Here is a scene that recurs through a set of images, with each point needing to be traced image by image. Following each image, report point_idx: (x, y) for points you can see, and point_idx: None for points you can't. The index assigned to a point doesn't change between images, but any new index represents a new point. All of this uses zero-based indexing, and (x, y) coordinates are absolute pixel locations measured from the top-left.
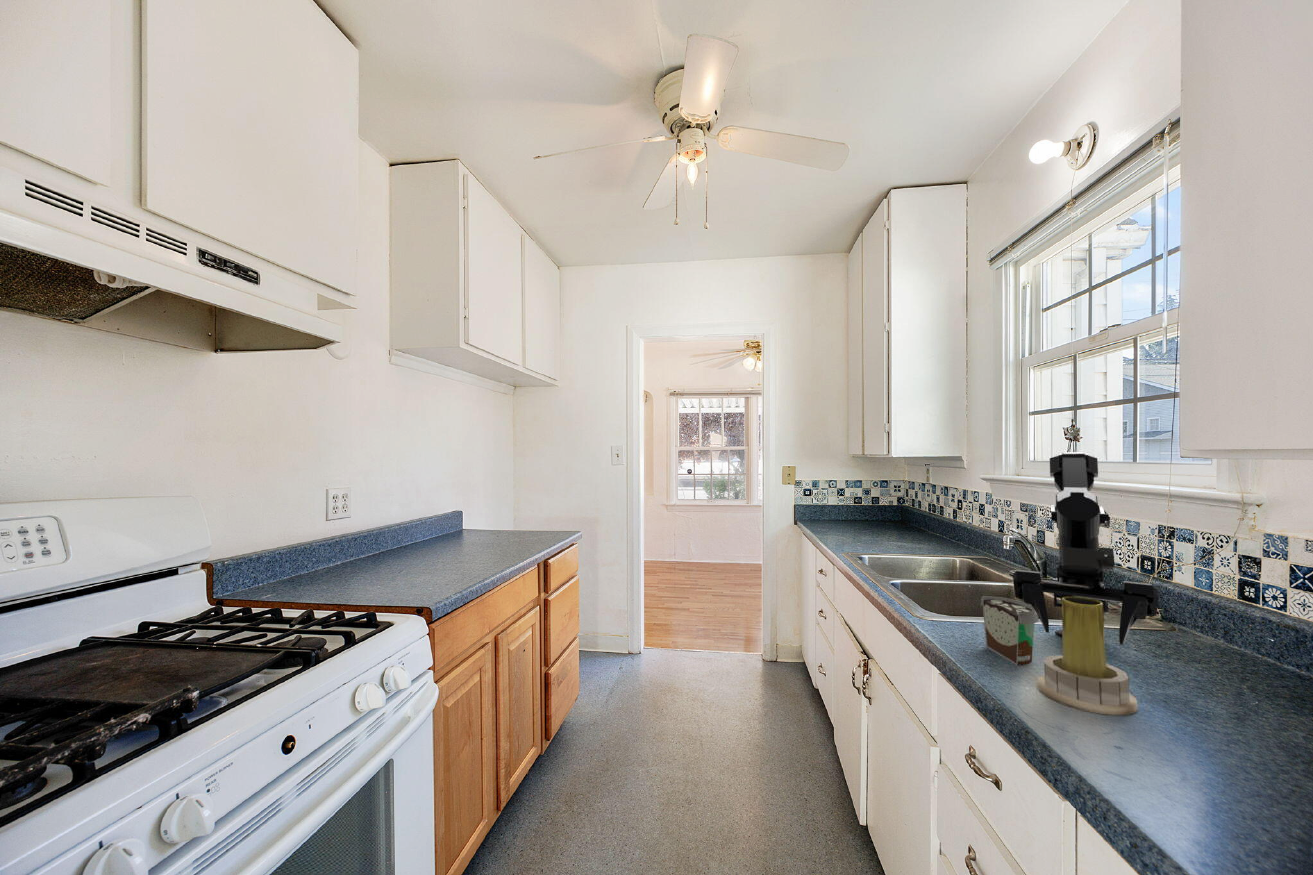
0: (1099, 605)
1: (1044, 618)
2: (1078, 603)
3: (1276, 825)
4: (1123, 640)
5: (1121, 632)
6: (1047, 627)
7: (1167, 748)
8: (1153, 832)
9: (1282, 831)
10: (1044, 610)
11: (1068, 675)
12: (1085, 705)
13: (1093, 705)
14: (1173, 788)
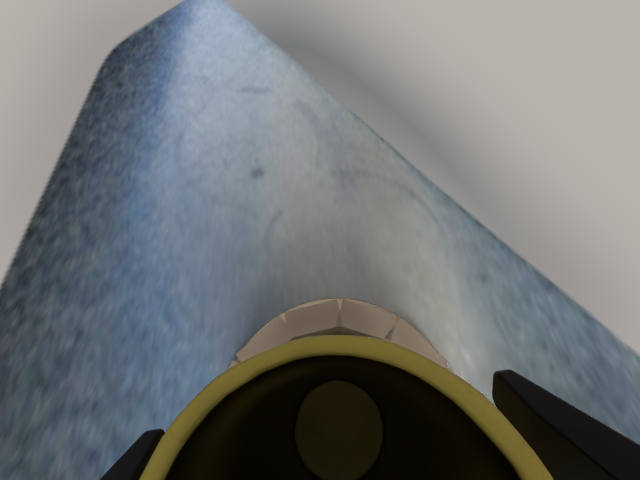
0: (145, 475)
1: (566, 414)
2: (342, 339)
3: (104, 101)
4: (142, 434)
5: (122, 477)
6: (508, 378)
7: (185, 229)
8: (224, 10)
9: (103, 93)
10: (626, 467)
11: (363, 305)
12: (321, 300)
13: (305, 306)
14: (195, 104)
